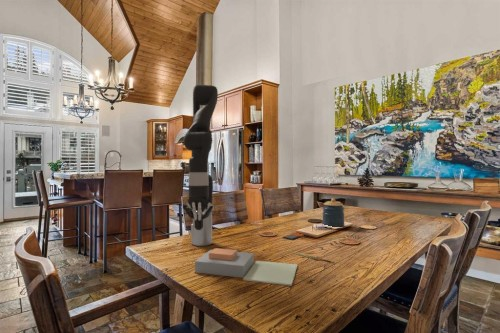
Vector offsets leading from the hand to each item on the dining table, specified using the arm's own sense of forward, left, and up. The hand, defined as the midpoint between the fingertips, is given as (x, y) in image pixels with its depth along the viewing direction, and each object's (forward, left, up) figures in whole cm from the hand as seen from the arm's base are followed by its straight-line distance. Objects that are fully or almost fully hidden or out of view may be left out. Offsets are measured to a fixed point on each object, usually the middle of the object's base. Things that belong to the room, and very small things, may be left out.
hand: (199, 229), depth 106 cm
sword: (+38, +22, -14) cm, 46 cm away
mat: (+28, 0, -14) cm, 31 cm away
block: (+10, 0, -10) cm, 14 cm away
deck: (+11, 0, -14) cm, 17 cm away
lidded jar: (+51, +80, -14) cm, 96 cm away
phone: (+31, +52, -14) cm, 62 cm away
